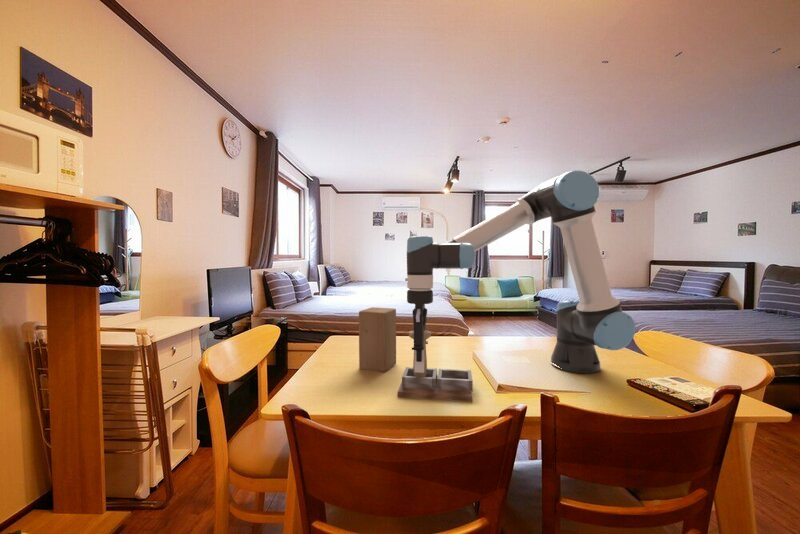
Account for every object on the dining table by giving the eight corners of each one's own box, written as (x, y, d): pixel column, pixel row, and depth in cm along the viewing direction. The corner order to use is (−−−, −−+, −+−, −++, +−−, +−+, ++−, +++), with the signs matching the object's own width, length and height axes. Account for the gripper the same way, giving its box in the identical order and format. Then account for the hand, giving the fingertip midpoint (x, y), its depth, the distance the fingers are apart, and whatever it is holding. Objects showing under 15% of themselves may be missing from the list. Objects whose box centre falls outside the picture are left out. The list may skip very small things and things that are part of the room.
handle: (432, 386, 93) (431, 333, 93) (409, 386, 93) (409, 333, 93) (430, 379, 98) (430, 329, 98) (408, 379, 98) (408, 330, 98)
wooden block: (358, 369, 112) (358, 311, 112) (371, 360, 122) (371, 307, 121) (385, 372, 109) (384, 312, 108) (396, 363, 118) (396, 308, 117)
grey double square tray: (470, 381, 100) (470, 367, 100) (473, 401, 86) (473, 384, 86) (405, 378, 103) (404, 364, 103) (397, 396, 90) (397, 380, 90)
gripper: (410, 286, 104) (411, 359, 105) (402, 292, 87) (403, 379, 88) (434, 286, 103) (434, 360, 103) (430, 292, 86) (431, 380, 86)
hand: (420, 368), depth 96 cm, fingers open, 4 cm apart
